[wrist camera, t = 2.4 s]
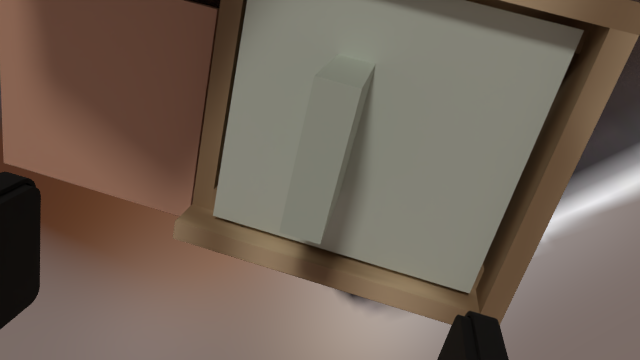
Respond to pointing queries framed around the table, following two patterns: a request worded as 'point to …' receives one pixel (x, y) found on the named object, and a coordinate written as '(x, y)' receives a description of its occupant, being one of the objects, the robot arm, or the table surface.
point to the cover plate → (387, 126)
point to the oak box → (522, 211)
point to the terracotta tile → (108, 93)
